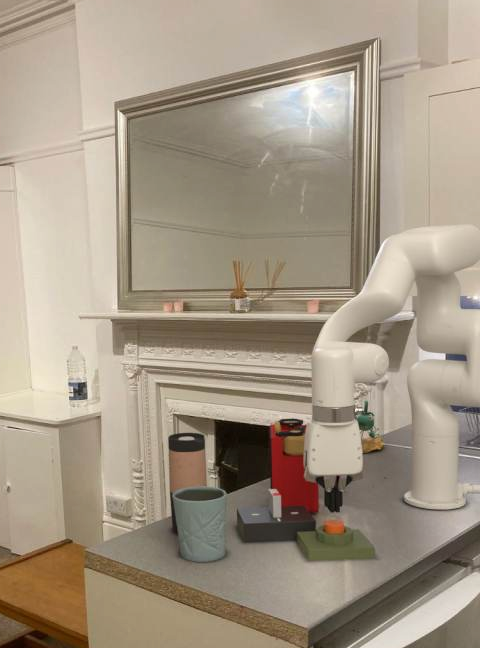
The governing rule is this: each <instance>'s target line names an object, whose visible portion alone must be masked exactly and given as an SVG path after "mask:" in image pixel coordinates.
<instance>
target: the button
mask: <svg viewBox="0 0 480 648" xmlns="http://www.w3.org/2000/svg"><path fill="white" fill-rule="evenodd" d="M323 525H324V532H327V533H331V534H341V533H344V526H345V522H344V521H342V520H336V519H331V520H330V519H329V520H326V521H324V523H323Z"/></svg>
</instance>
